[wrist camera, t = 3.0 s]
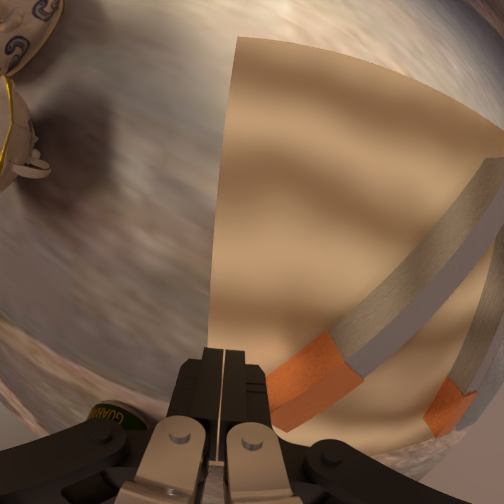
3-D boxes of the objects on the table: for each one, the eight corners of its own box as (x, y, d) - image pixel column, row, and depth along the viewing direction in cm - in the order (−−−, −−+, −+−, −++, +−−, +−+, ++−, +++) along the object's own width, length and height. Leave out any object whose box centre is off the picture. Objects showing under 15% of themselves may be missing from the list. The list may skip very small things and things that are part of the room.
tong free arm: (496, 136, 11) (528, 135, 8) (515, 185, 12) (545, 190, 9) (258, 380, 15) (261, 420, 12) (302, 410, 16) (310, 446, 12)
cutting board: (238, 49, 12) (237, 36, 10) (517, 150, 13) (528, 151, 12) (208, 452, 19) (206, 464, 18) (428, 429, 21) (433, 437, 19)
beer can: (163, 436, 19) (137, 551, 7) (117, 437, 19) (82, 534, 7) (129, 395, 17) (79, 523, 6) (84, 398, 17) (29, 500, 6)
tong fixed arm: (498, 215, 13) (527, 223, 10) (510, 219, 13) (537, 227, 10) (422, 417, 18) (435, 438, 15) (436, 413, 18) (450, 432, 15)
